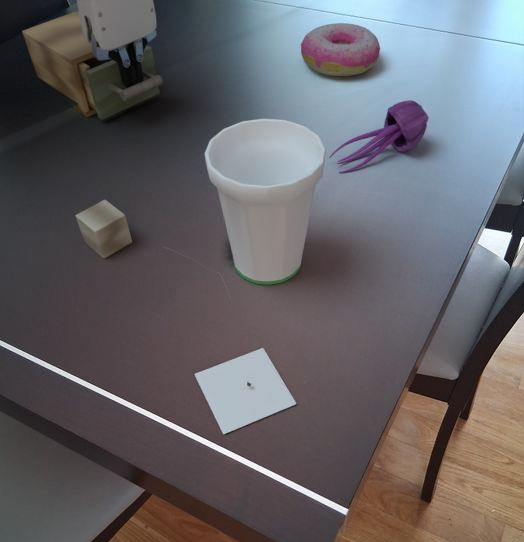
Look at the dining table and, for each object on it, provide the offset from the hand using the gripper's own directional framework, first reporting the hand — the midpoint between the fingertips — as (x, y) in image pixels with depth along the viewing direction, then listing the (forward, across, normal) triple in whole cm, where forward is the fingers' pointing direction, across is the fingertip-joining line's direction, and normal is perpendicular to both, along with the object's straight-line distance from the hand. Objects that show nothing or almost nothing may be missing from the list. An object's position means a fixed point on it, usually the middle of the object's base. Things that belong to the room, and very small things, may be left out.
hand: (134, 87), depth 88 cm
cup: (+5, +9, +39) cm, 40 cm away
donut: (+5, -35, +12) cm, 37 cm away
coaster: (+5, +24, +51) cm, 57 cm away
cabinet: (+5, 0, -13) cm, 14 cm away
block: (+5, +21, +22) cm, 31 cm away
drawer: (+4, 0, -6) cm, 7 cm away
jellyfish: (+5, -18, +34) cm, 39 cm away
